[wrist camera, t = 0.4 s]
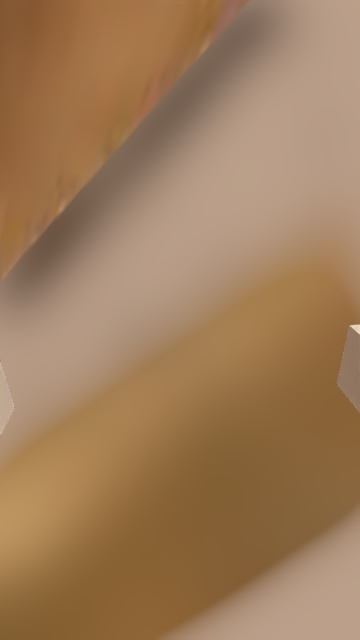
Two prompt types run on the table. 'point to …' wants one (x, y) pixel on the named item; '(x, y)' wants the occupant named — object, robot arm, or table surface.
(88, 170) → the table surface
